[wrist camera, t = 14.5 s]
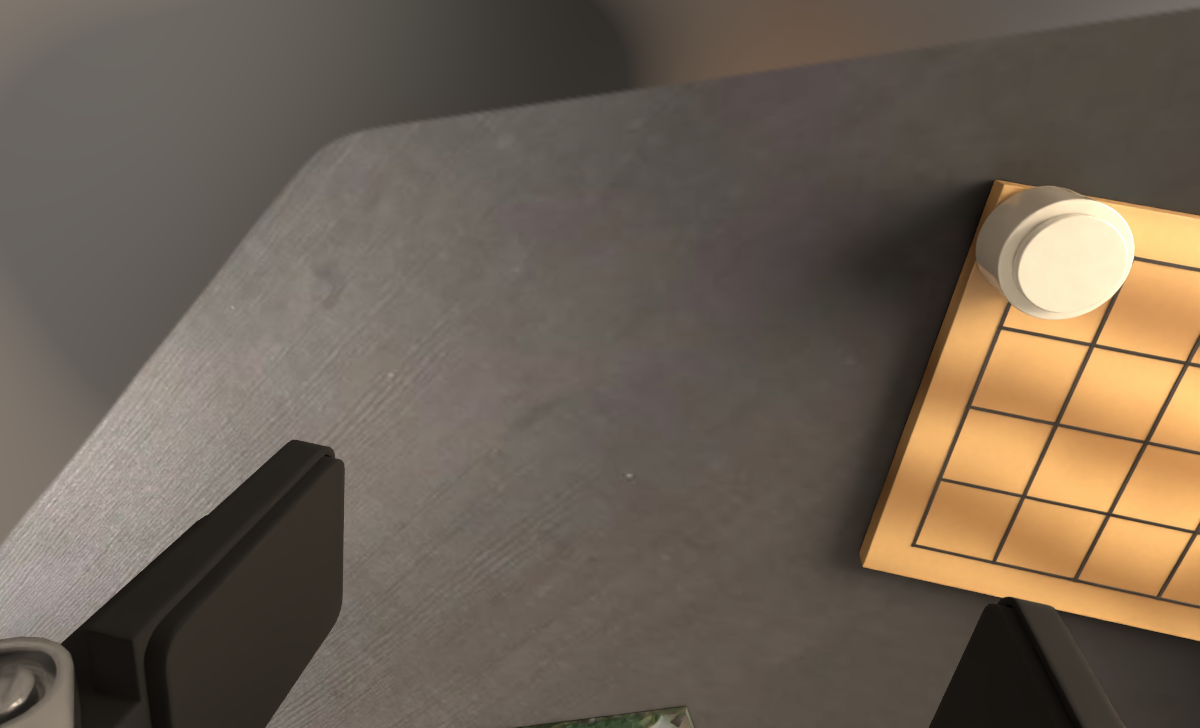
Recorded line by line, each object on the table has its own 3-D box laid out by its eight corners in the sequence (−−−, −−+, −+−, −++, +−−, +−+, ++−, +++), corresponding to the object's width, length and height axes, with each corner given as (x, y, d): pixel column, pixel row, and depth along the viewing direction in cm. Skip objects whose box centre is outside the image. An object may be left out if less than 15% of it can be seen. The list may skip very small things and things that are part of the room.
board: (994, 179, 32) (1004, 184, 31) (1494, 267, 31) (1524, 276, 30) (858, 553, 40) (862, 568, 39) (1249, 638, 39) (1265, 657, 38)
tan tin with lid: (999, 175, 31) (1031, 191, 28) (1119, 197, 31) (1166, 215, 27) (958, 285, 33) (984, 312, 30) (1071, 307, 33) (1110, 336, 29)
